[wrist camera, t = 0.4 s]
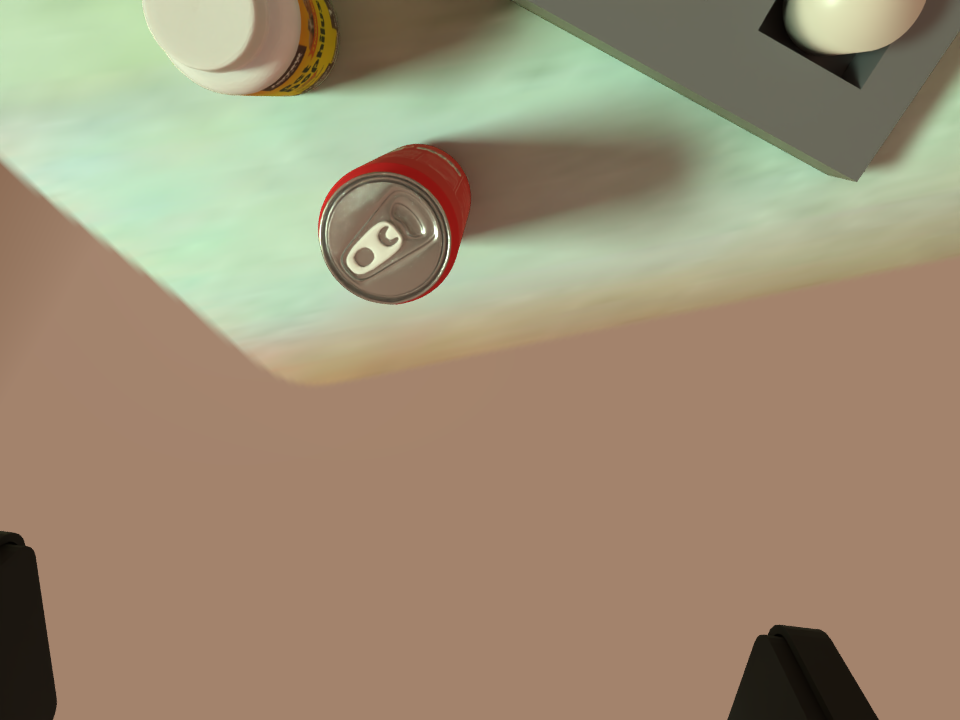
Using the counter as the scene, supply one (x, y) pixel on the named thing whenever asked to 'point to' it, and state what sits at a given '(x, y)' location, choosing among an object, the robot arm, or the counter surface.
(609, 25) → the panel
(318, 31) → the supplement bottle
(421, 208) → the beverage can
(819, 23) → the ivory button
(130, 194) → the counter surface
